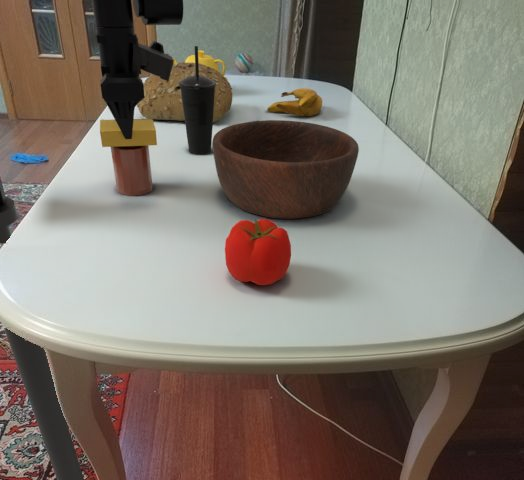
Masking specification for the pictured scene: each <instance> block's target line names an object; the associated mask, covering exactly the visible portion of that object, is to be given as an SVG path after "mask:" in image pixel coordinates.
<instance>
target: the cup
mask: <svg viewBox="0 0 524 480" xmlns="http://www.w3.org/2000/svg"><path fill="white" fill-rule="evenodd" d="M110 150H111V151H110V152H111V159H112V165H113V172H114V179H115V187H116V191H117V192H118V193H119V194H121V195H124V196H141V195H142V196H143V195H146V194H148V193H151V192H152V191H153V179H152V178H153V177H152V169H151V157H150V145H149V146H119V147H110Z"/></svg>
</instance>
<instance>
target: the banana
mask: <svg viewBox="0 0 524 480" xmlns="http://www.w3.org/2000/svg"><path fill="white" fill-rule="evenodd" d="M289 96H294V98H295V100H282V101H276V102H274V103H272V104H271V105H269V106H268V107H267V112H274V113H285V114H288V115H289V114H290V115H295V116H300V117H313V116H316V115H318V114H319V113H320V111H321V109H322V107H323V98H322V97H321V95H319V94H318V93H317V91H315V90H313V89H311V88H305V87H304V88H302V87H301V88H296V89H294V90H292V91H288V92H287V91H284V92H282V93H281V96H280V97H281V98H284V97H289Z"/></svg>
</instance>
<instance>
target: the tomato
mask: <svg viewBox="0 0 524 480" xmlns="http://www.w3.org/2000/svg"><path fill="white" fill-rule="evenodd" d="M278 226H279V225H278V224H277V223H275V222H274V221H272V220H271V219H268V218H260V219H255V218H254V222H253V221H251V220H249V219H242V220H239V221H238V222H236V223H235V224H234V225H233V226H232V227H231V229H230V231H229V233H228V236H227V237H226V238H225V243H224V244H225V245H224V256H225V265H226V268H227V270H228V273H229V274H230V276H231V277H232V278H234V279H235V280H237V281H240V282H243V283H244V282H245V283H247V282H252V283H253V284H256V285H259V286H269V285H273V284H274V283H276V282H277V281H280V280H281V279H283V278H284V277H285V276H286V274H287V272H288V270H289V267H290V264H291V257H292V244H291V240H290V237H289V233H288V231H287V230H286V229H285V228H284V227H278Z"/></svg>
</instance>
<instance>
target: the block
mask: <svg viewBox="0 0 524 480" xmlns="http://www.w3.org/2000/svg"><path fill="white" fill-rule="evenodd" d="M99 135H100V140H101V141H100V142H101V147H102V148H111V147H119V146H149V147H150V146H158V141H157V131H156V126H155V121H154V119H149V118H134V119H133V131H132V139H125V138H124V136H123V134H122V132H121V130H120V128H119V126H118V124H117V122H116V120H115V119H100V120H99Z"/></svg>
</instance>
